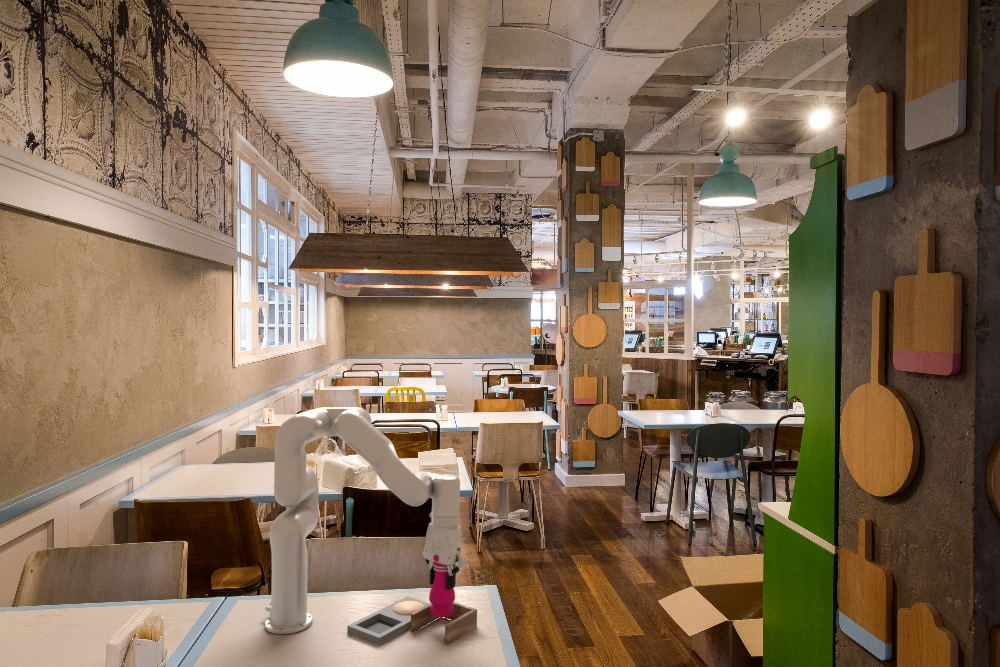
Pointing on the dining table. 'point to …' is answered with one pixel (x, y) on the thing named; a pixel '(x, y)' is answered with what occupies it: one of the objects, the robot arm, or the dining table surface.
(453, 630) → the wooden u-shaped frame
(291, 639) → the dining table surface
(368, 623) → the gray portable music player
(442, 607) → the pepper mill
